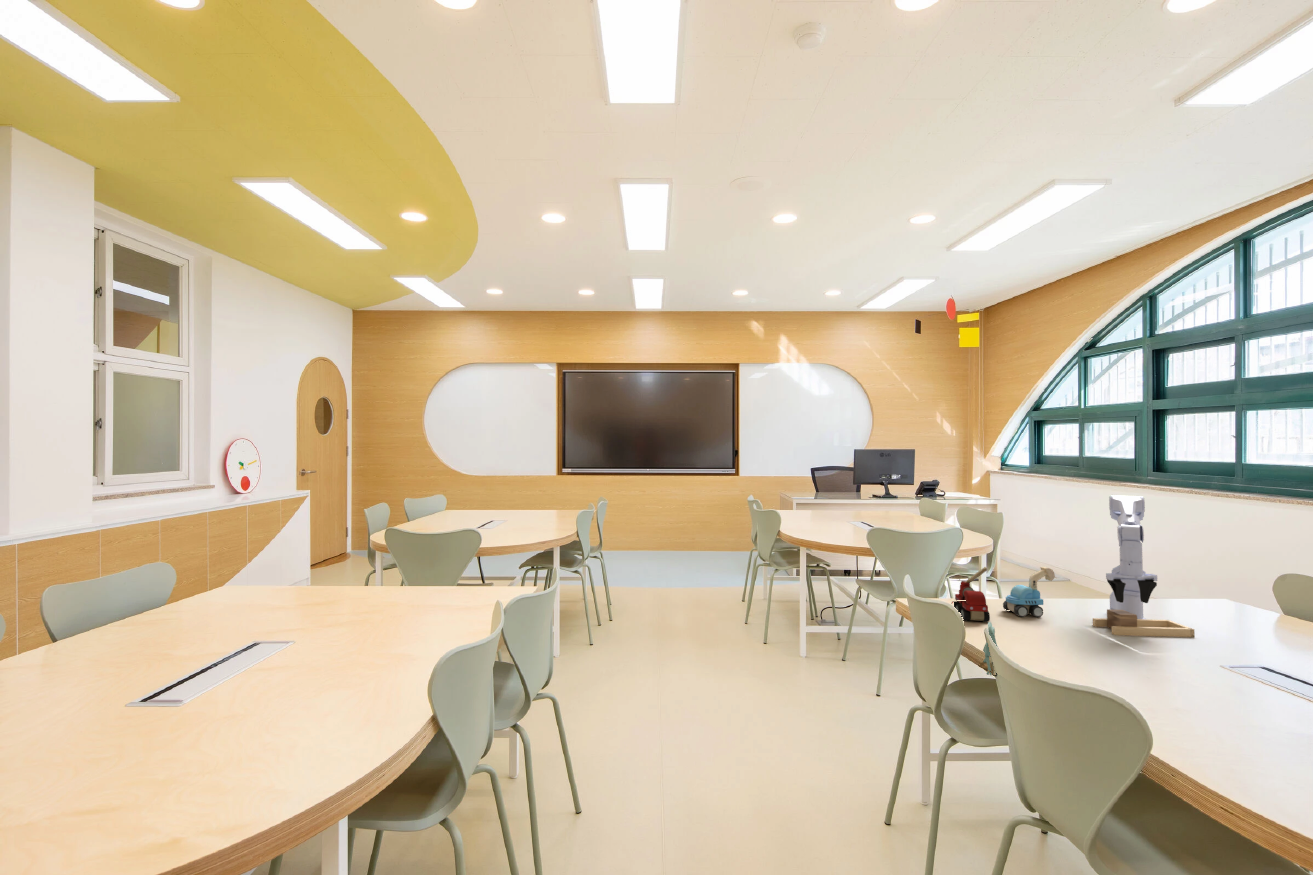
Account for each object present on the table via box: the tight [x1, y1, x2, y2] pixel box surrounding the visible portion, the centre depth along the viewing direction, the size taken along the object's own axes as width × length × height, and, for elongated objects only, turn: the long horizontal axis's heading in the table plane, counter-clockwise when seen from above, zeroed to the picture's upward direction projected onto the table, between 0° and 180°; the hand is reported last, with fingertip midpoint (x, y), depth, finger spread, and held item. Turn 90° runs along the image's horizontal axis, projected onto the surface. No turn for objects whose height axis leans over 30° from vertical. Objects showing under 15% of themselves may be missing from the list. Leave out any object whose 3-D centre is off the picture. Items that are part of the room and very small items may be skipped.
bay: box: [1092, 617, 1195, 638], centre depth 180 cm, size 10×24×3 cm, turn 85°
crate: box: [1106, 608, 1137, 630], centre depth 180 cm, size 6×5×6 cm
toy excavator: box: [1002, 566, 1056, 618], centre depth 201 cm, size 9×17×17 cm, turn 89°
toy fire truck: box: [952, 566, 991, 622], centre depth 198 cm, size 11×16×18 cm
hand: (1132, 602), depth 181 cm, fingers open, 7 cm apart
